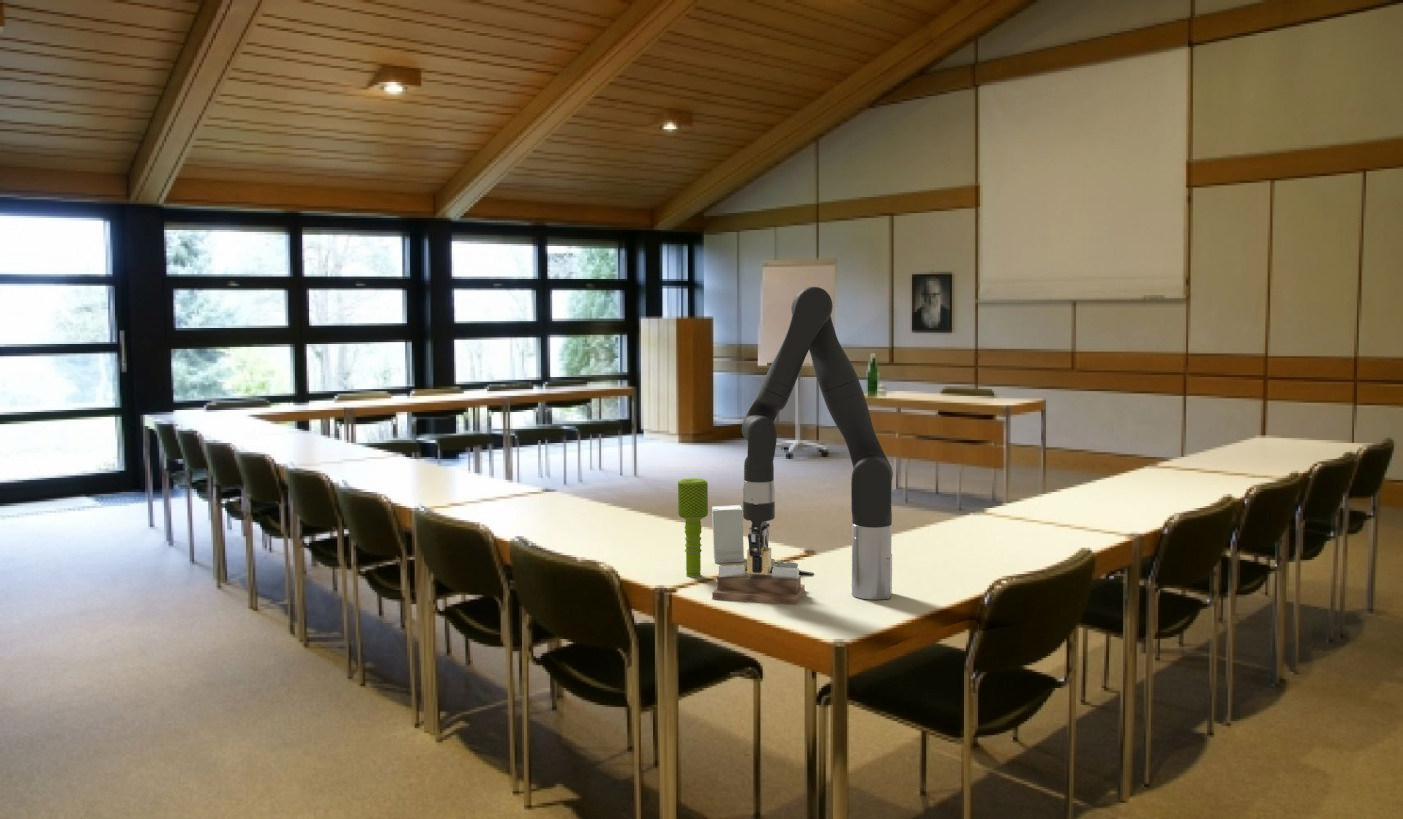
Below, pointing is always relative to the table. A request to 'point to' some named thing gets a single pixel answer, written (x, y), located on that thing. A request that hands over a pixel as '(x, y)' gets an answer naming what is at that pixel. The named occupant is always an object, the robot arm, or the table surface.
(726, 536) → the skincare box
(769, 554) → the natural wood cube
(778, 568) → the grey bar
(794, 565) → the metal bracket
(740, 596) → the base
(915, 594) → the table surface
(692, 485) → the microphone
